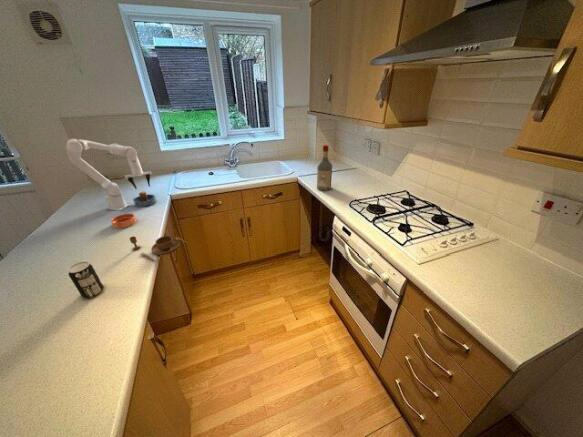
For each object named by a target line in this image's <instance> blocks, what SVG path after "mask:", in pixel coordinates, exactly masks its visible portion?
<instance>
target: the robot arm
mask: <svg viewBox="0 0 583 437" xmlns="http://www.w3.org/2000/svg"><path fill="white" fill-rule="evenodd" d="M65 147H66V153H67V156H68V160H69V161H70V162H71V164H73V165H74V166H75V167H77V168H78V169H79V170H81V171H82V172H83V173H85V174H86V175H87V176H88V177H90V178H91V179H92V180H94V181H95V182H96V183H98V184H99V185H100V186H101V187H102V188H103V189H104V190H105V191H106V193H107V194H106V195H105V196H104V200H105V202H106V205H107V210H114V211H117V210H119V211H121V210H123V209H125V208H126V207H129V206H131V204H130V203H127V202H126V200H125V197H124V195H123V193H122V191H121V189H120V188H119V185H118V184H117V183H116V182H114V181H111V180H110V179H108V178H107V177H105V176H104V175H103V174H102V173H100V172H99V171H98V170H96V169H95V168H94V167H93V166H92V165H91V164H89V163H88V162H87V161H86V160H84V159H83V158H82V152H83V149H84V150H85V151H86V150H89V149H95V150H101V151H107V152H109V153H110V154H112V155H116V156H123V157H126V158H127V162H128V165H129V167H130V170H131V171H130V172H131V173H130V174H125V175H124V178H125V180H128V182H129V183H130V184H131V185H132V186H133V187H134V189H135V190H138V188H137V184H136V183H135V180H134V178H139V177H145V179H146V182H147V185H148V187H151V184H150V180H151V176H152V175H153V174H152V171H151V170H150V171H149V170H148V171H143V169H142V165H141V162H140V160H139V157H138V151H137V150H136V149H135V148H134V147H132V146H129V145H128V146H127V145H121V144H118V143H116V142H114V143H110V144H105V143H101V142H98V141H97V142H96V141H91V140H87V139H80V138H79V139H77V138H69V139H68V140H67V141H66V146H65Z"/></svg>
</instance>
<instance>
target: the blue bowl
mask: <svg viewBox="0 0 583 437" xmlns="http://www.w3.org/2000/svg"><path fill="white" fill-rule="evenodd" d="M147 197H148V200H147V201H143V202H142V201H141V198H140V196H139V195H138V196H136V197H135V198H133V204H134V206H135V207H137V208H146V207H149V206H152V205H154V204H155V203H156V202H157V200H156V196H155V195H154V194H151V193H150V194H149V193H148V194H147Z"/></svg>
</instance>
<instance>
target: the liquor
mask: <svg viewBox="0 0 583 437" xmlns="http://www.w3.org/2000/svg"><path fill="white" fill-rule="evenodd" d="M329 146H330V145H328V144H323V145H322V159H321V161H320V162H319V164H318V165H317V169H316V170H317V172H316V175H317V176H316V177H317V178H316V189H317V190H318V191H323V192H328V191H330V190H331V187H332V177H333V164H332V163H331V161H329Z"/></svg>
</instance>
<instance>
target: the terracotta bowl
mask: <svg viewBox="0 0 583 437" xmlns="http://www.w3.org/2000/svg"><path fill="white" fill-rule="evenodd" d="M137 222H138V221H137V218H136V215H135V214H134V213H130V212H129V213H123V214H119V215H117V216H115V217H112V219H111V220H110V223H111V226H112V227H113V229H116V230H121V229H126V228H129V227H132V226H134V225H135V224H136V223H137Z"/></svg>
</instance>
